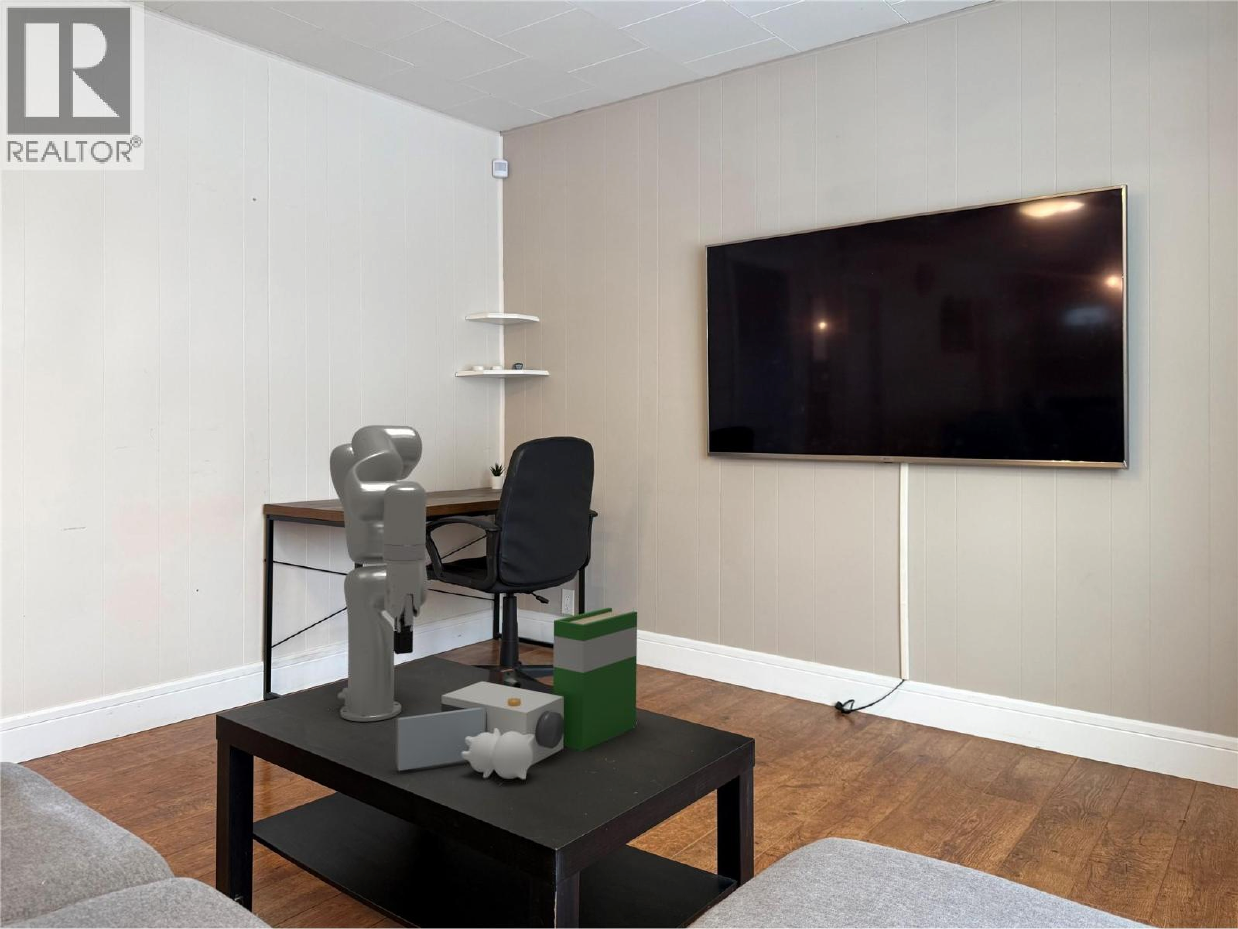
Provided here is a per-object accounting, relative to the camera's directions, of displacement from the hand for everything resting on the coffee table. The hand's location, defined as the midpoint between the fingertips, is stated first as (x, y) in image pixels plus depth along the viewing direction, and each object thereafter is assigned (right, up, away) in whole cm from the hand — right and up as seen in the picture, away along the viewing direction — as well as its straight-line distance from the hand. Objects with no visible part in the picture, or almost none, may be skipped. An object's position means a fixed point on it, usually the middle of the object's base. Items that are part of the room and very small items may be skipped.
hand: (403, 652), depth 162 cm
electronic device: (+14, -20, +37) cm, 44 cm away
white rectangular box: (+17, -20, +7) cm, 27 cm away
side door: (+7, -19, -2) cm, 21 cm away
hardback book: (+35, -20, +16) cm, 43 cm away
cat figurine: (+19, -21, -6) cm, 28 cm away
